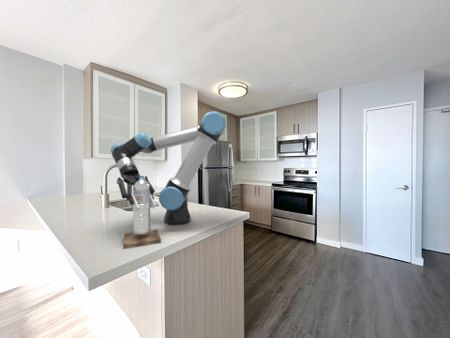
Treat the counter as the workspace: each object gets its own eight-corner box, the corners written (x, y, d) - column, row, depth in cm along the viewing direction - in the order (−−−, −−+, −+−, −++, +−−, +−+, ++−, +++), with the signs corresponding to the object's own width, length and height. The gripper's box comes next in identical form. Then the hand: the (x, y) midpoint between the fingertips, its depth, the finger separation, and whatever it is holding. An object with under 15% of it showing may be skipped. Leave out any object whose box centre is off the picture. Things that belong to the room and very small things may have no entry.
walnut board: (156, 232, 93) (156, 229, 93) (160, 242, 81) (160, 239, 81) (124, 236, 87) (124, 233, 87) (123, 248, 75) (123, 245, 75)
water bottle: (153, 232, 84) (152, 175, 84) (137, 237, 79) (137, 176, 79) (145, 229, 89) (145, 175, 88) (130, 233, 84) (130, 175, 83)
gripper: (144, 173, 101) (162, 209, 91) (102, 175, 85) (118, 218, 76) (150, 163, 97) (169, 199, 87) (107, 163, 82) (124, 206, 72)
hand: (145, 208), depth 81 cm, fingers closed on water bottle, 7 cm apart
